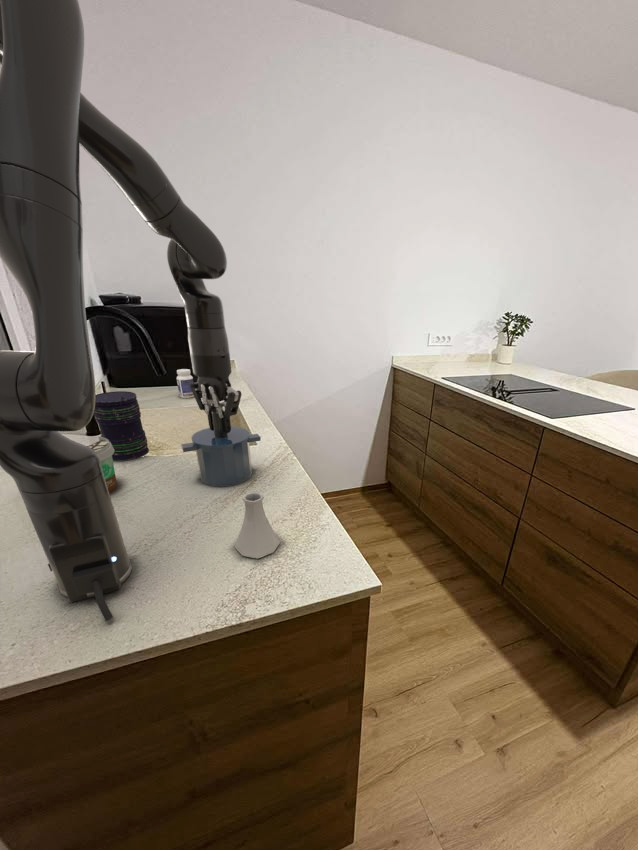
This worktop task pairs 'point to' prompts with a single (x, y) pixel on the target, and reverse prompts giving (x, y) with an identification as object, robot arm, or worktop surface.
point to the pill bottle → (184, 383)
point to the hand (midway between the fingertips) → (220, 431)
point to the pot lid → (220, 435)
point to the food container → (106, 461)
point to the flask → (256, 529)
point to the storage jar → (121, 424)
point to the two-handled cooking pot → (224, 462)
